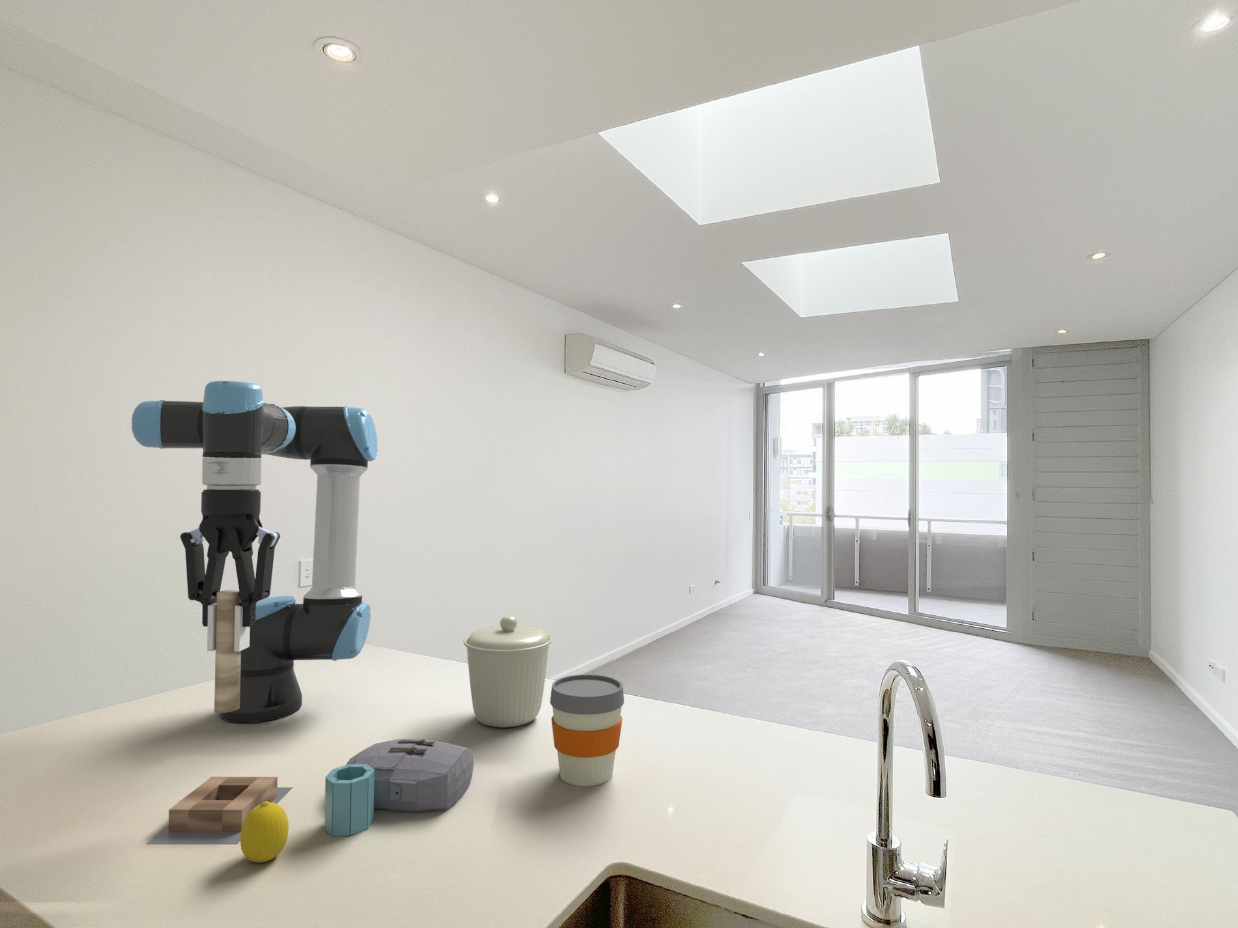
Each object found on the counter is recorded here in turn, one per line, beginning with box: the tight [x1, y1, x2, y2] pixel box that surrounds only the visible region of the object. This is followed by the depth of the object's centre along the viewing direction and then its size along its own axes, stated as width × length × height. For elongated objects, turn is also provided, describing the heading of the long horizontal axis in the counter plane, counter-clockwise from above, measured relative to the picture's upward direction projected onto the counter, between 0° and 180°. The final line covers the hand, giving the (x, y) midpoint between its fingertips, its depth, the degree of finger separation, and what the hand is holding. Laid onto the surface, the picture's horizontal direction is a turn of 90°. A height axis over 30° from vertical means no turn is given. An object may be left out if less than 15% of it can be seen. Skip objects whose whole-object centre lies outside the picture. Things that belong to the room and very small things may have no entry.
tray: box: [145, 786, 294, 845], centre depth 98 cm, size 16×12×1 cm
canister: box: [462, 615, 553, 728], centre depth 138 cm, size 18×18×21 cm
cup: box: [324, 764, 375, 837], centre depth 95 cm, size 6×6×8 cm
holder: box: [168, 776, 278, 832], centre depth 98 cm, size 10×10×3 cm
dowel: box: [213, 589, 241, 714], centre depth 98 cm, size 3×3×17 cm
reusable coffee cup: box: [549, 673, 625, 787], centre depth 114 cm, size 13×13×15 cm
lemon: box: [239, 801, 290, 864], centre depth 87 cm, size 6×6×8 cm
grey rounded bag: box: [345, 738, 475, 813], centre depth 105 cm, size 15×8×20 cm
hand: (228, 648), depth 98 cm, fingers closed on dowel, 3 cm apart
